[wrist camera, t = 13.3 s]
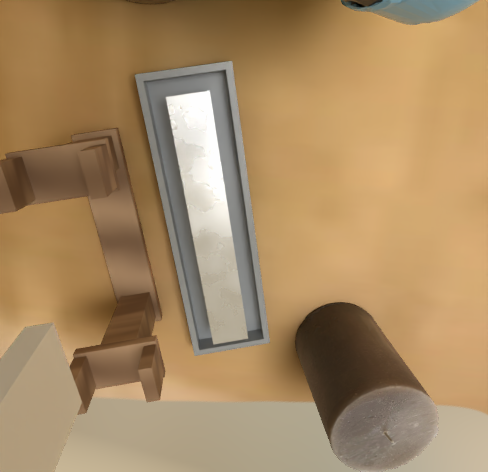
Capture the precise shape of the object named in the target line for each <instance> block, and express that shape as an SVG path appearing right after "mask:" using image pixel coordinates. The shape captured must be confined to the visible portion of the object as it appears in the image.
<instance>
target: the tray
mask: <svg viewBox="0 0 488 472" xmlns="http://www.w3.org/2000/svg"><path fill="white" fill-rule="evenodd" d="M135 78H136V83H137V88H138V93H139V97H140V102H141V107H142V111H143V116H144V121H145V125H146V130H147V135H148V139H149V144H150V149H151V153H152V158H153V163H154V167H155V172H156V177H157V181H158V186H159V191H160V196H161V200H162V205H163V210H164V214H165V219H166V224H167V228H168V233H169V238H170V242H171V247H172V252H173V256H174V261H175V266H176V270H177V275H178V280H179V284H180V289H181V294H182V299H183V303H184V308H185V313H186V317H187V322H188V327H189V331H190V336H191V341H192V345H193V350H194V355H195V356H197V355H203V354H209V353H214V352H220V351H226V350H231V349H237V348H243V347H249V346H254V345H260V344H266V343H270V339H269V332H268V324H267V317H266V310H265V302H264V295H263V287H262V280H261V272H260V265H259V258H258V250H257V243H256V235H255V228H254V221H253V213H252V206H251V198H250V191H249V183H248V176H247V169H246V161H245V154H244V146H243V139H242V132H241V124H240V117H239V109H238V102H237V94H236V87H235V80H234V72H233V65H232V61H227V62H220V63H213V64H206V65H199V66H192V67H185V68H177V69H170V70H163V71H156V72H149V73H142V74H135ZM204 91H210V97H211V103H212V109H213V116H214V122H215V129H216V135H217V142H218V148H219V154H220V161H221V167H222V174H223V180H224V186H225V193H226V199H227V206H228V212H229V218H230V225H231V231H232V238H233V244H234V250H235V257H236V263H237V270H238V276H239V282H240V289H241V295H242V302H243V308H244V314H245V321H246V327H247V334H248V339H242V340H237V341H231V342H225V343H219V344H213V340H212V335H211V329H210V324H209V319H208V314H207V309H206V303H205V298H204V293H203V288H202V283H201V277H200V272H199V267H198V262H197V257H196V251H195V246H194V241H193V236H192V231H191V225H190V220H189V215H188V210H187V205H186V199H185V194H184V189H183V184H182V179H181V173H180V168H179V163H178V158H177V153H176V147H175V142H174V137H173V132H172V127H171V121H170V116H169V111H168V106H167V101H166V97H170V96H177V95H184V94H190V93H197V92H204Z"/></svg>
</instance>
